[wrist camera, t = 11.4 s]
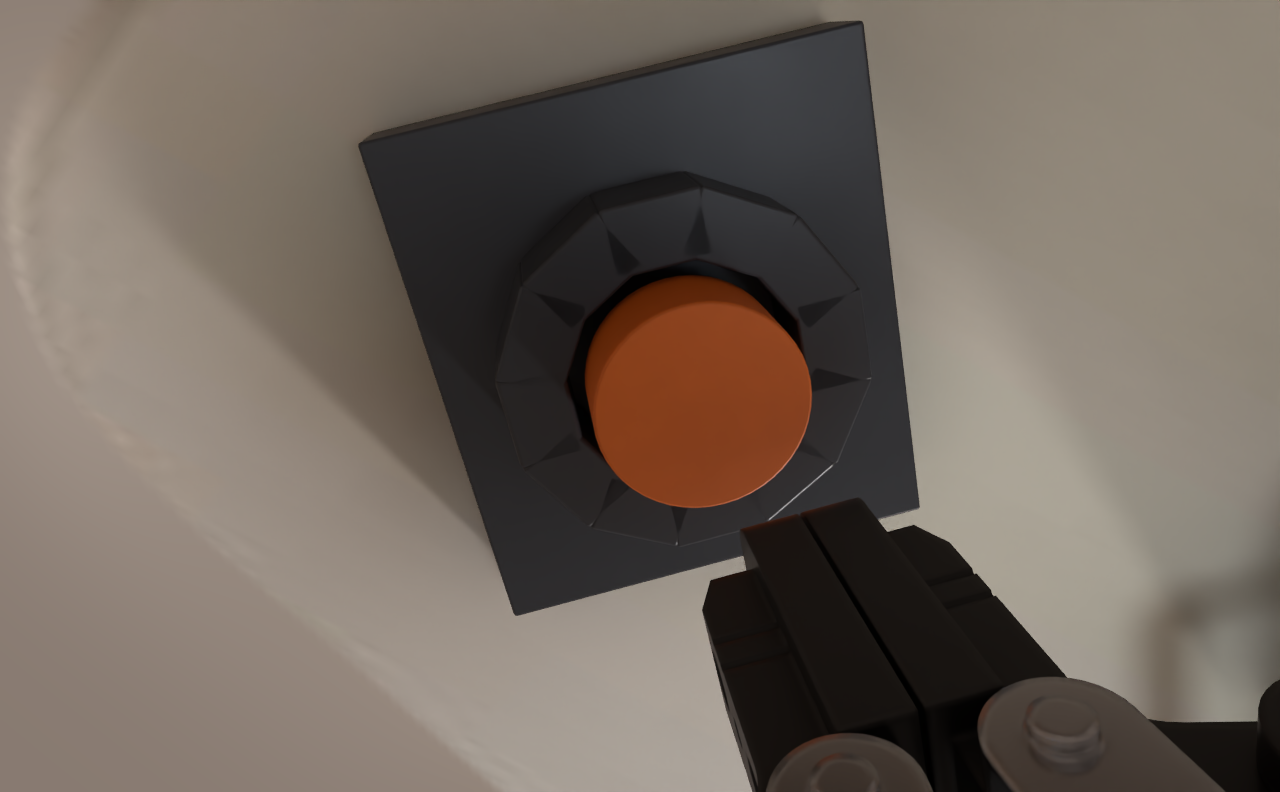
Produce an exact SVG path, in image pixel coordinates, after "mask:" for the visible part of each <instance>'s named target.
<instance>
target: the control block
mask: <svg viewBox="0 0 1280 792" xmlns="http://www.w3.org/2000/svg"><path fill="white" fill-rule="evenodd" d="M358 147H359V150H360V153H361V156H362V159H363V162H364V165H365V168H366V171H367V174H368V177H369V180H370V183H371V186H372V189H373V192H374V195H375V198H376V201H377V204H378V207H379V210H380V213H381V216H382V219H383V222H384V225H385V228H386V231H387V234H388V237H389V240H390V243H391V246H392V249H393V252H394V255H395V258H396V261H397V264H398V267H399V270H400V273H401V276H402V279H403V282H404V285H405V288H406V291H407V294H408V297H409V300H410V303H411V306H412V309H413V312H414V315H415V318H416V321H417V324H418V327H419V330H420V333H421V336H422V339H423V342H424V345H425V348H426V351H427V354H428V357H429V360H430V363H431V366H432V369H433V372H434V375H435V378H436V381H437V384H438V387H439V390H440V393H441V396H442V399H443V402H444V405H445V408H446V411H447V414H448V417H449V420H450V423H451V426H452V429H453V432H454V435H455V438H456V441H457V444H458V447H459V450H460V453H461V456H462V459H463V462H464V465H465V468H466V472H467V475H468V478H469V481H470V484H471V487H472V490H473V493H474V496H475V499H476V502H477V505H478V508H479V511H480V514H481V517H482V520H483V523H484V526H485V529H486V532H487V535H488V538H489V541H490V544H491V547H492V550H493V553H494V556H495V559H496V562H497V565H498V568H499V571H500V574H501V577H502V580H503V583H504V586H505V589H506V592H507V595H508V598H509V601H510V604H511V607H512V610H513V613H514V614H515V616H518V615H522V614H526V613H529V612H533V611H537V610H541V609H545V608H548V607H552V606H556V605H560V604H563V603H567V602H571V601H575V600H578V599H582V598H586V597H590V596H593V595H597V594H601V593H605V592H608V591H612V590H616V589H620V588H623V587H627V586H631V585H635V584H638V583H642V582H646V581H650V580H653V579H657V578H661V577H665V576H668V575H672V574H676V573H680V572H683V571H687V570H691V569H695V568H698V567H702V566H706V565H710V564H713V563H717V562H721V561H725V560H728V559H732V558H736V557H740V556H743V551H742V546H741V541H740V529H742V528H746V527H750V526H754V525H757V524H761V523H765V522H768V521H772V520H776V519H780V518H783V517H787V516H791V515H794V514H798V515H799V516H800V513H801V512H805V511H808V510H812V509H816V508H820V507H823V506H827V505H831V504H835V503H838V502H842V501H846V500H849V499H853V498H857V497H859V498H861V499H862V500H863V501H864V502H865V504H866V505H867V506H868V508H869V509H870V510H871V511H872V513H873V514H874V515H875V517H876V518H877V519H878V520H879V519H882V518H886V517H890V516H894V515H897V514H901V513H905V512H909V511H912V510H916V509H919V507H920V506H919V497H918V488H917V480H916V471H915V463H914V454H913V445H912V437H911V428H910V420H909V411H908V402H907V394H906V385H905V377H904V368H903V360H902V351H901V342H900V334H899V325H898V317H897V308H896V299H895V291H894V282H893V274H892V265H891V257H890V248H889V239H888V231H887V222H886V214H885V205H884V196H883V188H882V179H881V171H880V162H879V154H878V145H877V136H876V128H875V119H874V111H873V102H872V93H871V85H870V76H869V68H868V59H867V51H866V42H865V33H864V25H863V22H862V21H840V22H828V23H824V24H820V25H816V26H811V27H807V28H803V29H799V30H795V31H791V32H787V33H783V34H779V35H774V36H770V37H766V38H762V39H758V40H754V41H750V42H746V43H742V44H737V45H733V46H729V47H725V48H721V49H717V50H713V51H709V52H705V53H700V54H696V55H692V56H688V57H684V58H680V59H676V60H672V61H668V62H664V63H659V64H655V65H651V66H647V67H643V68H639V69H635V70H631V71H627V72H622V73H618V74H614V75H610V76H606V77H602V78H598V79H594V80H590V81H585V82H581V83H577V84H573V85H569V86H565V87H561V88H557V89H553V90H549V91H544V92H540V93H536V94H532V95H528V96H524V97H520V98H516V99H512V100H507V101H503V102H499V103H495V104H491V105H487V106H483V107H479V108H475V109H470V110H466V111H462V112H458V113H454V114H450V115H446V116H442V117H438V118H433V119H429V120H425V121H421V122H417V123H413V124H409V125H405V126H401V127H397V128H392V129H388V130H384V131H380V132H376V133H373V134H372V135H370V136H369V137H367V138H366V139H365V140H363V141H362V142H360V143H359V146H358ZM681 275H700V276H708V277H713V278H718V279H721V280H724V281H726V282H729V283H732V284H734V285H735V286H737V287H739V288H741V289H743V290H744V291H746V292H747V293H748V294H750V295H751V296H753V297H754V298H755V299H756V300H757V301H758V302H759V303H760V304H761V305H762V306H763V307H764V308H765V309H766V310H767V311H768V312H769V313H770V315H771V316H772V317H773V318H774V319H775V320H776V321H777V322H778V323H779V324H780V325H781V326H782V327H783V328H784V329H785V331H786V332H787V333H788V334H789V335H790V336H791V338H792V339H793V340H794V342H795V343H796V344H797V346H798V348H799V349H800V351H801V353H802V355H803V357H804V360H805V362H806V365H807V367H808V371H809V375H810V380H811V389H812V403H811V411H810V417H809V422H808V425H807V428H806V431H805V434H804V436H803V438H802V440H801V443H800V445H799V447H798V448H797V450H796V451H795V453H794V455H793V456H792V458H791V459H790V460H789V462H788V463H787V464H786V465H785V466H784V468H783V469H782V470H781V471H780V472H779V473H778V474H777V475H776V476H775V477H774V478H772V479H771V480H770V481H769V482H767V483H766V484H765V485H763V486H762V487H761V488H759V489H757V490H756V491H754V492H752V493H751V494H749V495H746V496H744V497H742V498H740V499H738V500H735V501H732V502H728V503H725V504H721V505H716V506H711V507H701V508H688V507H678V506H672V505H667V504H664V503H660V502H657V501H655V500H652V499H650V498H648V497H645V496H643V495H642V494H640V493H638V492H637V491H635V490H633V489H632V488H631V487H629V486H628V485H627V484H626V483H624V482H623V481H622V480H621V479H620V478H619V477H618V476H617V475H616V474H615V473H614V471H613V470H612V469H611V467H610V466H609V464H608V463H607V462H606V460H605V458H604V456H603V454H602V452H601V450H600V448H599V445H598V442H597V439H596V436H595V432H594V427H593V422H592V418H591V413H590V408H589V404H588V399H587V394H586V388H585V365H586V359H587V355H588V350H589V347H590V345H591V342H592V339H593V337H594V335H595V333H596V331H597V329H598V328H599V326H600V324H601V323H602V321H603V320H604V319H605V317H606V316H607V315H608V313H609V312H610V311H611V310H612V309H613V308H614V307H615V306H616V305H617V304H618V303H619V302H620V301H622V300H623V299H624V298H625V297H627V296H628V295H629V294H631V293H633V292H634V291H636V290H637V289H639V288H641V287H643V286H645V285H647V284H649V283H652V282H655V281H658V280H661V279H664V278H669V277H674V276H681Z"/></svg>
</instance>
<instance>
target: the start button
mask: <svg viewBox="0 0 1280 792" xmlns="http://www.w3.org/2000/svg"><path fill="white" fill-rule="evenodd" d="M585 388H586V394H587V399H588V404H589V408H590V413H591V418H592V422H593V427H594V432H595V436H596V439H597V442H598V445H599V448H600V450H601V452H602V454H603V456H604V458H605V460H606V462H607V463H608V464H609V466H610V467H611V469H612V470H613V471H614V473H615V474H616V475H617V476H618V477H619V478H620V479H621V480H622V481H623V482H624V483H626V484H627V485H628V486H629V487H631V488H632V489H633V490H635V491H637V492H638V493H640V494H642V495H643V496H645V497H648V498H650V499H652V500H655V501H657V502H660V503H664V504H667V505H672V506H678V507H688V508H701V507H711V506H716V505H721V504H725V503H728V502H732V501H735V500H738V499H740V498H742V497H744V496H746V495H749V494H751V493H752V492H754V491H756V490H757V489H759V488H761V487H762V486H763V485H765V484H766V483H767V482H769V481H770V480H771V479H772V478H774V477H775V476H776V475H777V474H778V473H779V472H780V471H781V470H782V469H783V468H784V466H785V465H786V464H787V463H788V462H789V460H790V459H791V458H792V456H793V455H794V453H795V451H796V450H797V448H798V447H799V445H800V443H801V440H802V438H803V436H804V434H805V431H806V428H807V425H808V422H809V417H810V411H811V403H812V389H811V380H810V375H809V371H808V367H807V365H806V362H805V360H804V357H803V355H802V353H801V351H800V349H799V348H798V346H797V344H796V343H795V342H794V340H793V339H792V338H791V336H790V335H789V334H788V333H787V332H786V331H785V329H784V328H783V327H782V326H781V325H780V324H779V323H778V322H777V321H776V320H775V319H774V318H773V317H772V316H771V315H770V313H769V312H768V311H767V310H766V309H765V308H764V307H763V306H762V305H761V304H760V303H759V302H758V301H757V300H756V299H755V298H754V297H753V296H751V295H750V294H748V293H747V292H746V291H744V290H743V289H741V288H739V287H737V286H735V285H734V284H732V283H729V282H726V281H724V280H721V279H718V278H713V277H708V276H700V275H681V276H674V277H669V278H664V279H661V280H658V281H655V282H652V283H649V284H647V285H645V286H643V287H641V288H639V289H637V290H636V291H634V292H633V293H631V294H629V295H628V296H627V297H625V298H624V299H623V300H622V301H620V302H619V303H618V304H617V305H616V306H615V307H614V308H613V309H612V310H611V311H610V312H609V313H608V315H607V316H606V317H605V319H604V320H603V321H602V323H601V324H600V326H599V328H598V329H597V331H596V333H595V335H594V337H593V339H592V342H591V345H590V347H589V350H588V355H587V359H586V365H585Z"/></svg>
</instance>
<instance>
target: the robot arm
mask: <svg viewBox="0 0 1280 792" xmlns="http://www.w3.org/2000/svg"><path fill="white" fill-rule="evenodd" d="M740 541H741V546H742V551H743V556H744V560H745V565H746V571H743V572H739V573H735V574H732V575H728V576H724V577H721V578H717V579H713V580H711V581H710V584H709V588H708V591H707V595H706V598H705V602H704V605H703V609H702V611H703V616H704V620H705V624H706V628H707V632H708V636H709V641H710V645H711V649H712V653H713V657H714V661H715V666H716V670H717V674H718V678H719V682H720V686H721V691H722V695H723V699H724V703H725V707H726V711H727V714H728V717H729V720H730V723H731V726H732V729H733V733H734V736H735V739H736V742H737V744H738V748H739V751H740V754H741V757H742V761H743V764H744V767H745V769H746V772H747V776H748V779H749V782H750V785H751V788H752V792H1280V680H1278V681H1277V682H1275V683H1273V684H1272V685H1271V686H1270V687H1269V688H1268V689H1267V690H1266V691H1265V693H1264V694H1263V696H1262V697H1261V700H1260V703H1259V707H1258V722H1165V721H1157V720H1150V719H1147V718H1146V717H1145V716H1144V715H1143V714H1142V713H1141V712H1140V711H1139V710H1138V709H1137V708H1135V707H1134V706H1133V705H1132V704H1131V703H1129V702H1128V701H1127V700H1126V699H1124V698H1122V697H1121V696H1119V695H1118V694H1116V693H1114V692H1113V691H1110V690H1108V689H1106V688H1104V687H1101V686H1099V685H1096V684H1093V683H1090V682H1086V681H1082V680H1077V679H1072V678H1067V677H1066V676H1065V674H1064V673H1063V672H1062V671H1061V670H1060V669H1059V668H1058V666H1057V665H1056V664H1055V663H1054V662H1053V661H1052V660H1051V658H1050V657H1049V656H1048V655H1047V654H1046V653H1045V652H1044V650H1043V649H1042V648H1041V647H1040V646H1039V645H1038V643H1037V642H1036V641H1035V640H1034V639H1033V638H1032V637H1031V635H1030V634H1029V633H1028V632H1027V631H1026V630H1025V629H1024V627H1023V626H1022V625H1021V624H1020V623H1019V622H1018V621H1017V619H1016V618H1015V617H1014V616H1013V615H1012V614H1011V612H1010V611H1009V610H1008V609H1007V608H1006V607H1005V606H1004V604H1003V603H1002V602H1001V601H1000V600H999V599H998V598H997V596H993V595H992V593H991V590H990V588H989V587H988V586H987V585H986V584H985V583H984V581H983V580H982V579H981V578H980V577H979V576H978V575H977V574H974V573H973V570H972V568H971V567H970V565H969V564H968V563H967V562H966V561H965V560H964V559H963V557H962V556H961V555H960V554H959V553H958V552H957V551H956V549H955V548H954V547H953V546H952V545H951V544H950V543H949V542H947V541H945V540H943V539H941V538H939V537H937V536H935V535H933V534H931V533H929V532H927V531H925V530H923V529H921V528H919V527H917V526H915V525H912V526H908V527H904V528H901V529H897V530H893V531H890V532H887V531H886V530H885V528H884V527H883V526H882V525H881V523H880V522H879V521H878V519H877V518H876V517H875V515H874V514H873V513H872V511H871V510H870V509H869V508H868V506H867V505H866V504H865V502H864V501H863V500H862V499H861V498H859V497H857V498H853V499H849V500H846V501H842V502H838V503H835V504H831V505H827V506H823V507H820V508H816V509H812V510H808V511H805V512H801V513H800V516H799V515H798V514H794V515H791V516H787V517H783V518H780V519H776V520H772V521H768V522H765V523H761V524H757V525H754V526H750V527H746V528H742V529H740Z"/></svg>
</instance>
